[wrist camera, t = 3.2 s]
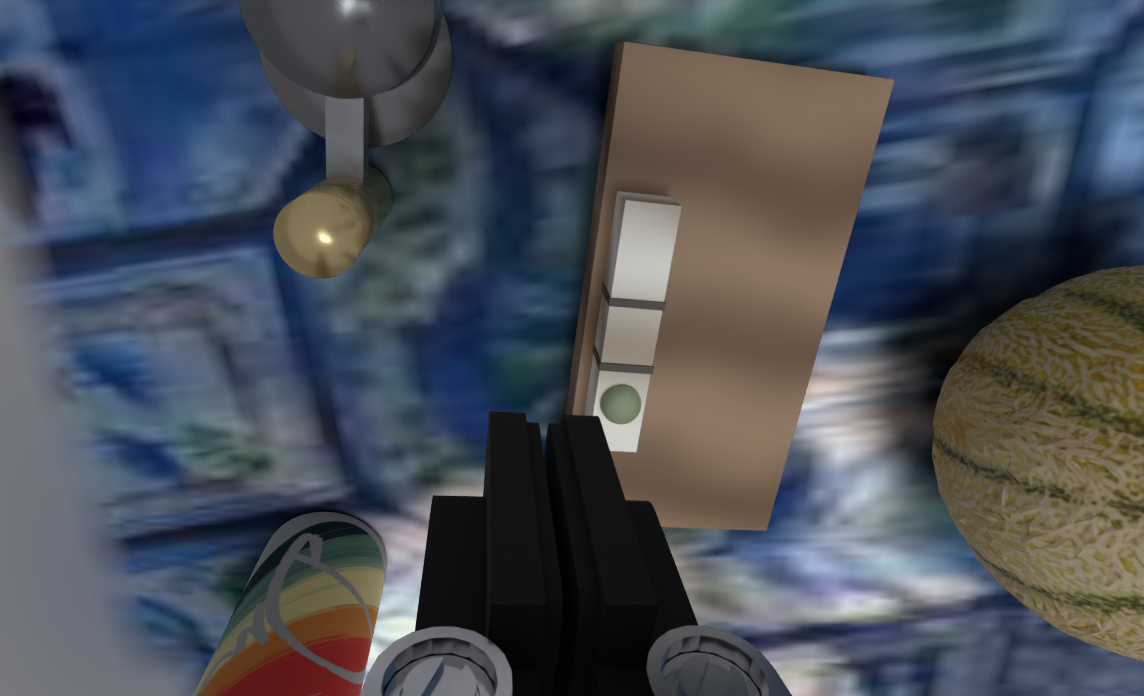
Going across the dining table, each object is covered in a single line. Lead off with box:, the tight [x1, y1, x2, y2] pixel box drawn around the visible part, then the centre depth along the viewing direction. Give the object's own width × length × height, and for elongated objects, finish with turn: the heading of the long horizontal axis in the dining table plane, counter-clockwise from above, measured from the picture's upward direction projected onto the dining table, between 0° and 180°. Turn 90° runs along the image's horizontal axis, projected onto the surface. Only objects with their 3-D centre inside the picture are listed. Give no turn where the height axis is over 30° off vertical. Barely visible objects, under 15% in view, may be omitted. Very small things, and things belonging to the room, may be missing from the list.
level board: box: [565, 42, 895, 531], centre depth 27 cm, size 20×10×5 cm, turn 173°
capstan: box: [238, 0, 453, 278], centre depth 21 cm, size 12×14×7 cm
